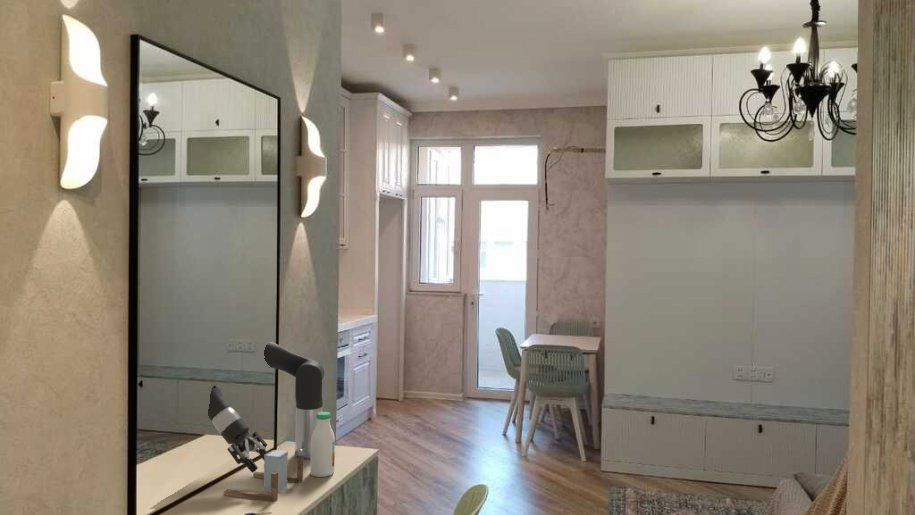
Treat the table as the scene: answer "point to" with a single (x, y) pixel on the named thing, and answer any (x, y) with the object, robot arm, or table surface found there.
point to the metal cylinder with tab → (300, 451)
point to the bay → (273, 484)
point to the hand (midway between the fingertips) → (262, 465)
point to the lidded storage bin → (275, 469)
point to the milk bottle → (322, 447)
